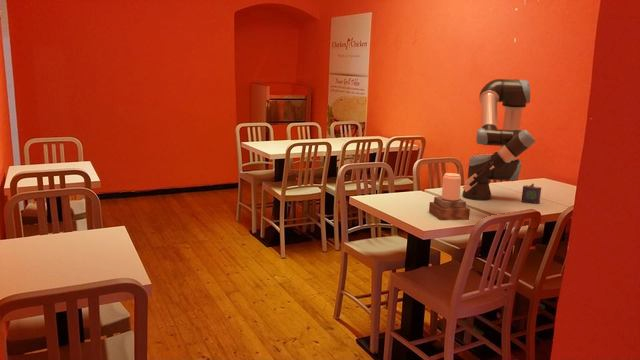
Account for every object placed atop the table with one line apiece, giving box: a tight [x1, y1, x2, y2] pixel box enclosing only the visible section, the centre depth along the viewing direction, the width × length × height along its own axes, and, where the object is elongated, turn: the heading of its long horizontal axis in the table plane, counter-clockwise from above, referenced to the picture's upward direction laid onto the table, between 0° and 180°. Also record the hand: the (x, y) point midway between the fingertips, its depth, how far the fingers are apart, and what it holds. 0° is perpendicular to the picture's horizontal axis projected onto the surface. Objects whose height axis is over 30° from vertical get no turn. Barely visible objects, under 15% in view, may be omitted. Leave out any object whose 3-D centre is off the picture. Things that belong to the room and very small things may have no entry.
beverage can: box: [441, 172, 462, 201], centre depth 245 cm, size 8×8×12 cm
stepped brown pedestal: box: [428, 196, 471, 221], centre depth 247 cm, size 14×14×8 cm
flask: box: [521, 182, 542, 205], centre depth 279 cm, size 9×3×11 cm, turn 74°
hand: (465, 186), depth 243 cm, fingers open, 13 cm apart
